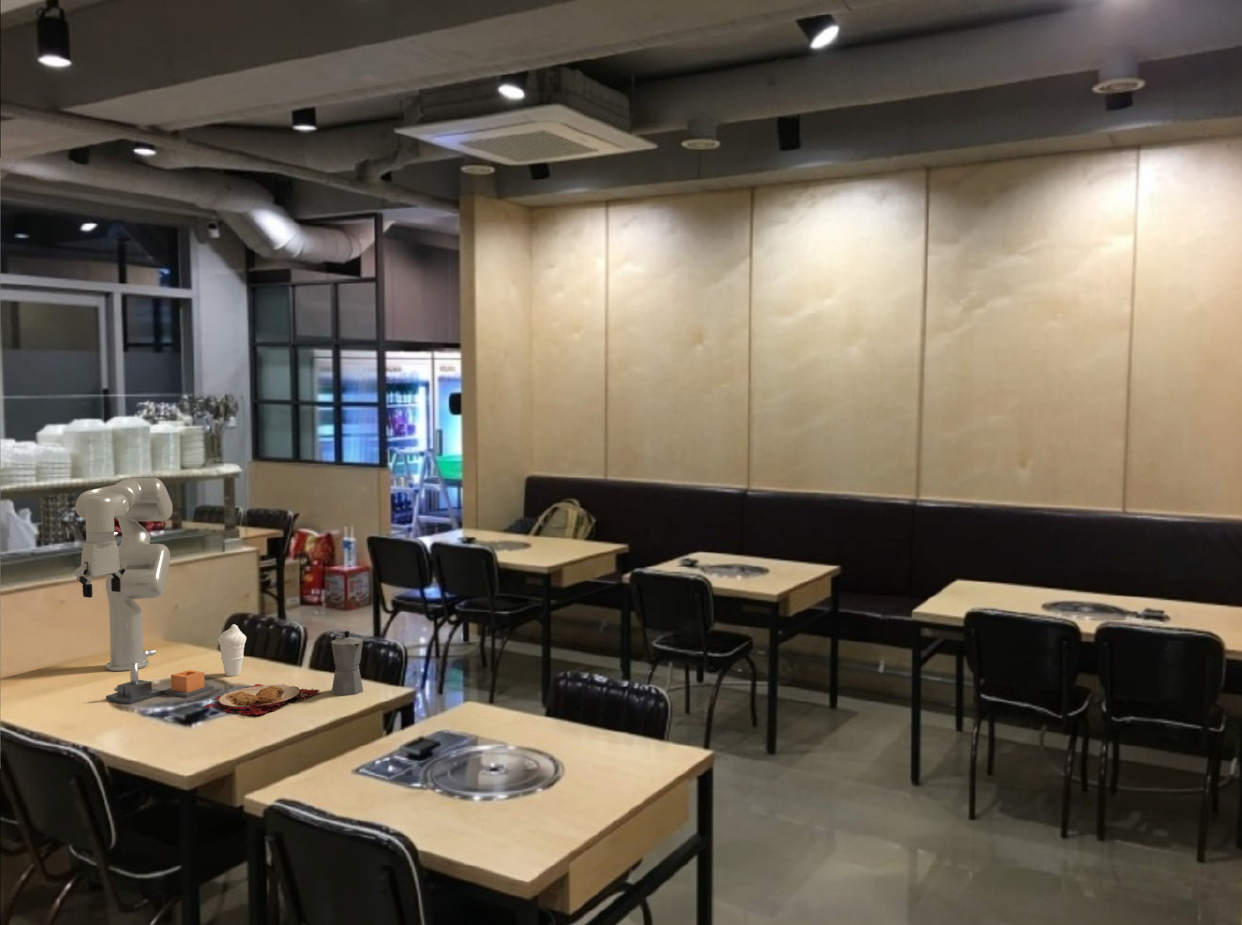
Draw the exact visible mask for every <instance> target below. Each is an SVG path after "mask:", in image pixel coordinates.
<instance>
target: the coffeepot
mask: <svg viewBox="0 0 1242 925" xmlns="http://www.w3.org/2000/svg"><path fill="white" fill-rule="evenodd" d="M350 632H351V631H349V630H345V631H343V634H344V637H343V636H340V635H337V634H336V635H333V636H332V637H331V640H330V642H331V649H332V655H333V662H334V664H335V670H334V674H333V681H332V686H331V688H332V689H331V692H332V694H333V695H335V696H354V695H358V694H361V693H362V692H364V688H363V687H364V686H363V681H362V677H361V676H362V675H361V671H360V663H361V659H362V651H363V650H362V649H363V642H364V640H363V639H362V638H360V637H359V638H358V637H352V636H350V634H351V633H350Z"/></svg>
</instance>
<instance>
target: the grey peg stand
mask: <svg viewBox="0 0 1242 925" xmlns="http://www.w3.org/2000/svg"><path fill="white" fill-rule="evenodd" d="M129 671H130V673H129V674H130V681H127V682H125V683H121V684H118V685H116V687H114V689H113V691H115V693H111V694H108V695H105V701H110V702H116V703H120V704H121V703H122V704H123V703H124V704H127V705H132V704H136V703H139V702H141V701H142V702H143V701H145V700H149V699H152V698H155V697H159V696H161V695H164V694H163V690H162V689H157V688H153V686H152V681H149V680H143V679H139V668H138V662H132V663H130V670H129Z"/></svg>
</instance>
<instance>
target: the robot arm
mask: <svg viewBox="0 0 1242 925" xmlns="http://www.w3.org/2000/svg"><path fill="white" fill-rule="evenodd" d="M75 511H76V514H77V515H78V516H79V517H80V518H82V519H85V535H86V538H85V540H86V542H85V543H83V546H82V553H81V562H80V566H79V567H77V568H76V569H75V570H73V573H74V575H75V577H76V579H77V581H78V582H79V583H80V584H81V585H82V596H83V597H84V598H89V599H90V598H93V584H92V583H91V582H92V581H93V579H94V578H97V577H103V576H106V578H105V591H106V595H107V596H106V597H107V602H108V610H109V611H108V612H109V613H108V614H109V646H110V647H109V649H110V651H109V652H110V653H109V654H110V657H109V658H110V661H109V662H108V663H106V664H105V669H106V670H107V671H114V672H115V671H116V672H118V671H119V672H122V671H130V663H132V662H138V669H142V668H145V667H146V666H148V665H149V659H147V658H148V657H151V656H155V655H156V652H157V651H156V650H155V649H148V650H147V649H144V642H143V641H144V640H143V638H144V637H143V636H144V634H143V632H144V631H143V611H142V609H141V607H140V605H139V604H138V603H137V601H135V600H139V599H144V600H145V599H156V598H160V597H161V596H162V595H163V593H164V592H165V587H166V583H167V581H168V580H167V579H168V574H169V569H170V565H171V564H170V563H171V554H170V550H169V548H168V547H167V545H165V544H163V543H162V544H161V543H150V541H151V534H150V533H149V532H148V530H147V529H146V528H145V527H144V526H142V525H141V524H140V523H139V522H164V521H167V520H169V519H170V518H171V517H172V515H173V502H172V499H171V498H170V495H169V492H168V489H167V487H166V486H165V484H164V483H163V482H162V480H160V479H159V478H157V477H128V478H125V479H123V480H121V481H118V482H117V483H116V484H113V485H107V486H103V487H98V488H94V489H89V490H86V491H84V492H82V493H81V494H80V495H79V496H78V497H77V499H76V502H75ZM115 519H117V520H118V524H119V528H120V531H121V535H122V536H121V537H122V538H121V543H120V545H119V548H118V544H117V540H116V538H115V537H117V535H118V532H117V531H115Z"/></svg>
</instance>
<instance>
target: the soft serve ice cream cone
mask: <svg viewBox="0 0 1242 925" xmlns="http://www.w3.org/2000/svg"><path fill="white" fill-rule="evenodd" d="M217 641H218V645H219V649H220V655H221V656H220V657H221V658H220V659H221V661H222V665H223V669H224V674H225V676H226V677H235V676H238V675H240V674H241V671H242V665H243V659H244V653H245V652H244V651H245V644H246V641H247V636H246V635H245V634H244V633H243V632H242V631H241V630H240V628H239V627H238V625H236V624H232V625H231V626H229V628H228V629H226V630H225V631H223V632H222V633H220V635H219V637H218V639H217Z"/></svg>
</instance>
